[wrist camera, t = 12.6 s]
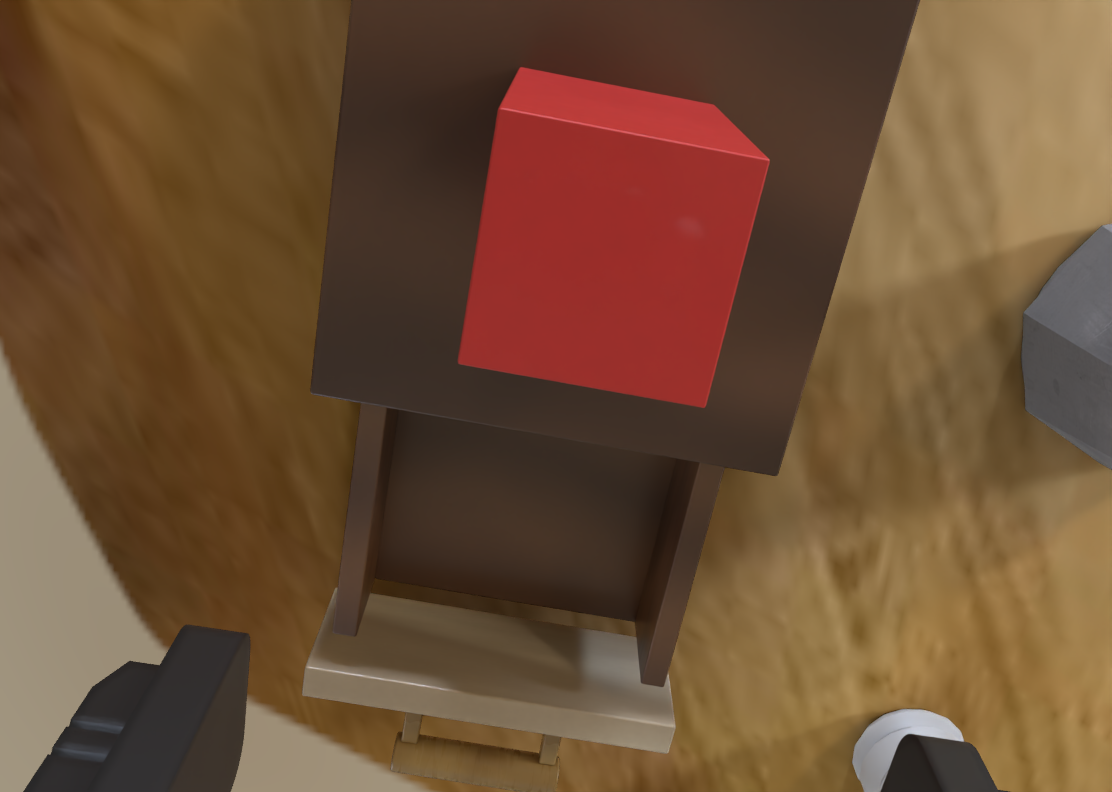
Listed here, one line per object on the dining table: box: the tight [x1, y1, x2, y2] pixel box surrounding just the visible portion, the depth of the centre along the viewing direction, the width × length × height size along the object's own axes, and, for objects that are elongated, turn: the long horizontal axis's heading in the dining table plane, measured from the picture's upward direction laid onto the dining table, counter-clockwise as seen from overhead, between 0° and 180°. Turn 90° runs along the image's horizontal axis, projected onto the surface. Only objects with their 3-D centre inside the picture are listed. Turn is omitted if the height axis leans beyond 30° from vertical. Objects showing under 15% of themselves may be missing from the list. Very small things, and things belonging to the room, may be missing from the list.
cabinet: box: [310, 0, 920, 476], centre depth 30 cm, size 15×14×7 cm
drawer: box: [302, 403, 725, 792], centre depth 35 cm, size 18×12×5 cm
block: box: [458, 67, 770, 408], centre depth 23 cm, size 5×5×8 cm
